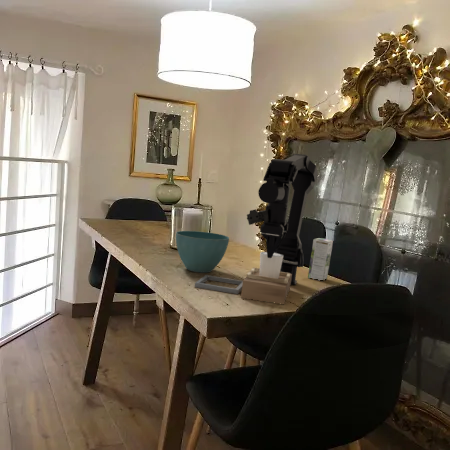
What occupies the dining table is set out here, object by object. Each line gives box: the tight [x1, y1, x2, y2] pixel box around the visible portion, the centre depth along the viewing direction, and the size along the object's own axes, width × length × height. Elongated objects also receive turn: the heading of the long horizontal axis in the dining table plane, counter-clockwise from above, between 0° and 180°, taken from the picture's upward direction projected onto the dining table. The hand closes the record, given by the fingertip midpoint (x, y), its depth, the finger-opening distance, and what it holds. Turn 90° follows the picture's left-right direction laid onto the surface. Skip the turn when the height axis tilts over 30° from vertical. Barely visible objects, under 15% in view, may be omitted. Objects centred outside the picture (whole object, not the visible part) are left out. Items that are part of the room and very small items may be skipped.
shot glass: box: [259, 251, 283, 278], centre depth 143 cm, size 7×7×7 cm
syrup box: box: [307, 237, 334, 281], centre depth 174 cm, size 6×6×14 cm
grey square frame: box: [194, 274, 243, 295], centre depth 147 cm, size 13×13×1 cm
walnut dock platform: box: [240, 267, 292, 305], centre depth 143 cm, size 20×12×6 cm, turn 167°
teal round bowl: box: [175, 230, 230, 274], centre depth 166 cm, size 18×18×12 cm
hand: (271, 255), depth 142 cm, fingers open, 9 cm apart
